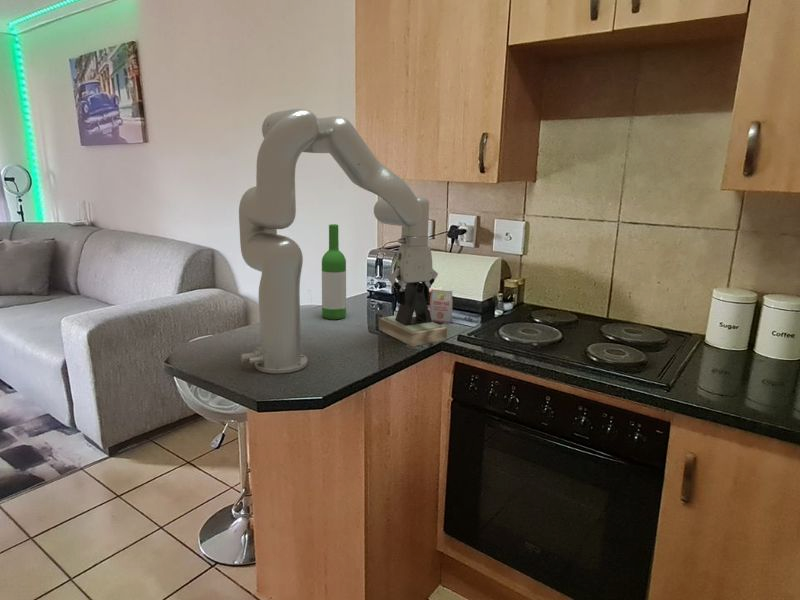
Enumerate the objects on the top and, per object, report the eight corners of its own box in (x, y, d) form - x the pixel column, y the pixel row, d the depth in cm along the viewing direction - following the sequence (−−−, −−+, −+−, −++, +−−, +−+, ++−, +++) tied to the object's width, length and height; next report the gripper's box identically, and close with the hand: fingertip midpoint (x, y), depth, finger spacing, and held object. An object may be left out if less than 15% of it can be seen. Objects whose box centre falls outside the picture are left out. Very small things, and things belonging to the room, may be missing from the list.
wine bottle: (317, 316, 174) (316, 224, 167) (338, 312, 179) (338, 223, 172) (329, 321, 168) (328, 226, 161) (350, 318, 173) (350, 225, 166)
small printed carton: (431, 317, 175) (432, 288, 173) (451, 319, 174) (453, 289, 171) (429, 320, 172) (430, 290, 170) (449, 322, 170) (451, 292, 168)
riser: (411, 346, 146) (411, 332, 145) (379, 329, 161) (379, 316, 160) (446, 340, 152) (447, 326, 151) (412, 324, 167) (412, 312, 166)
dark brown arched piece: (421, 317, 160) (422, 278, 158) (431, 322, 155) (433, 282, 153) (395, 320, 156) (395, 280, 153) (405, 325, 151) (406, 284, 148)
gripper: (395, 245, 142) (393, 308, 147) (447, 242, 151) (444, 302, 156) (381, 241, 149) (380, 303, 153) (432, 238, 158) (429, 296, 162)
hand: (412, 302), depth 154 cm, fingers open, 7 cm apart
